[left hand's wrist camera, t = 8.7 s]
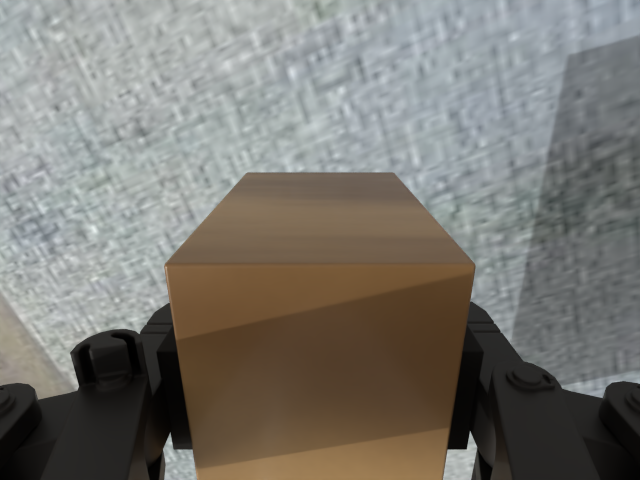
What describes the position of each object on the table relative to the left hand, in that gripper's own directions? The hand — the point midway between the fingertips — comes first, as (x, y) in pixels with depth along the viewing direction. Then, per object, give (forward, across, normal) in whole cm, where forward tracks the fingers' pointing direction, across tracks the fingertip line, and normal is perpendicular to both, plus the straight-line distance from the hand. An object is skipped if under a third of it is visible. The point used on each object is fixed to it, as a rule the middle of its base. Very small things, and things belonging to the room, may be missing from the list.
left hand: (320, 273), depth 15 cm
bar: (+1, 0, -9) cm, 9 cm away
